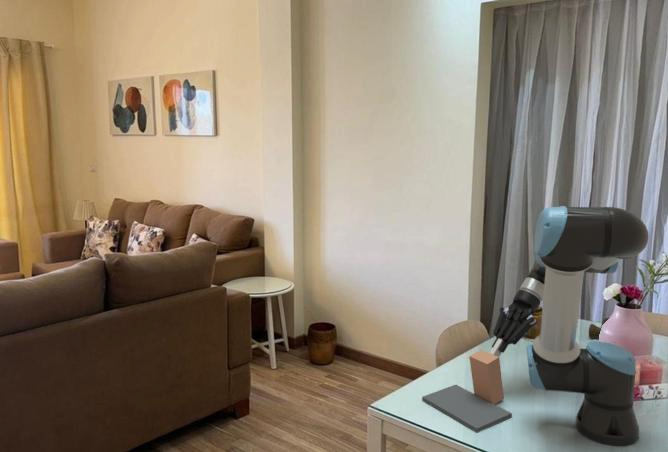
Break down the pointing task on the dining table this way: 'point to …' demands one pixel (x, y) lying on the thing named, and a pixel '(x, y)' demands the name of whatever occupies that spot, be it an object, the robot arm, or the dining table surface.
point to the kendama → (595, 329)
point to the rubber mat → (467, 408)
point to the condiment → (533, 332)
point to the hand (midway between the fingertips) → (491, 359)
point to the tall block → (486, 376)
